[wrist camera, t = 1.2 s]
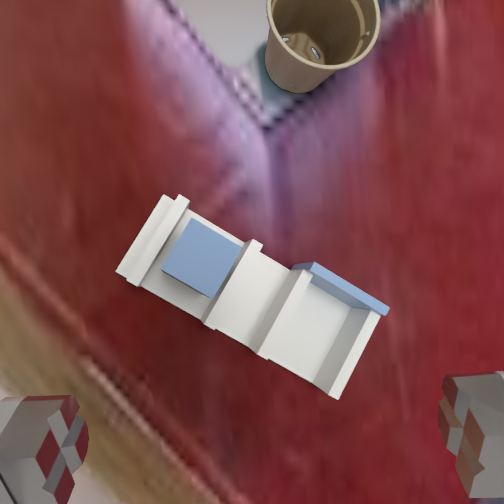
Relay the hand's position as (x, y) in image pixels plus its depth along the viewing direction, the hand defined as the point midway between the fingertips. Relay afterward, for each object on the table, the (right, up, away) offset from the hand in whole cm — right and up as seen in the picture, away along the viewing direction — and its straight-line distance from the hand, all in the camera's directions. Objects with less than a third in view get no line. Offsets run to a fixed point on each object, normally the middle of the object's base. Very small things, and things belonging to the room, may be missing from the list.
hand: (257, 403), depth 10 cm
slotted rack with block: (0, -1, +31) cm, 31 cm away
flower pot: (+4, +22, +33) cm, 40 cm away
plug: (-5, +2, +29) cm, 30 cm away
